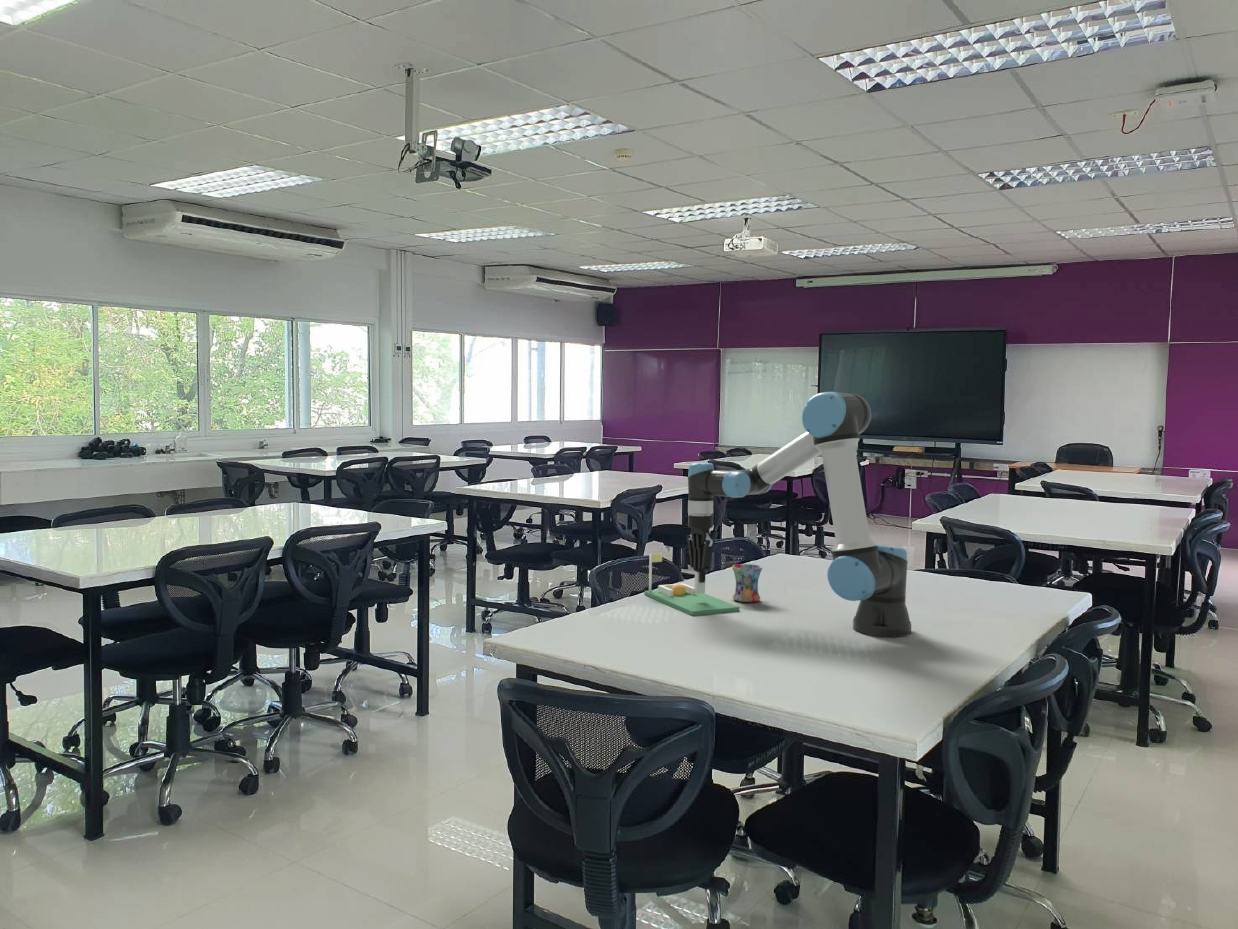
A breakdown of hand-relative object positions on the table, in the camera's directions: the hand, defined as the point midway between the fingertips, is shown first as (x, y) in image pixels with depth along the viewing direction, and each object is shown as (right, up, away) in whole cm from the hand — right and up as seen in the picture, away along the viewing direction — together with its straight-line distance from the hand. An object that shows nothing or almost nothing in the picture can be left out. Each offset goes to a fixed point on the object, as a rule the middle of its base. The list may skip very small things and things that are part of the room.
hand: (699, 592), depth 260 cm
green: (-3, -4, +4) cm, 6 cm away
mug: (+16, -4, +9) cm, 19 cm away
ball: (-6, -1, +10) cm, 11 cm away
